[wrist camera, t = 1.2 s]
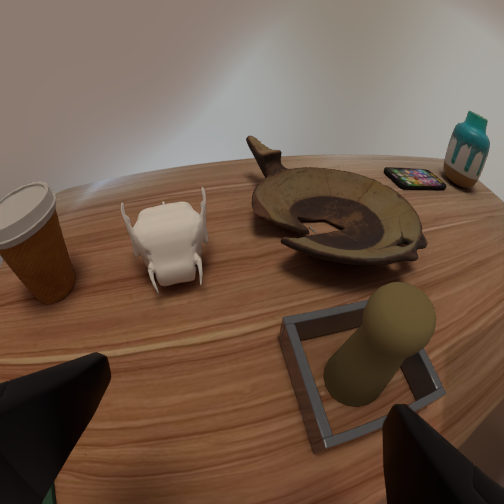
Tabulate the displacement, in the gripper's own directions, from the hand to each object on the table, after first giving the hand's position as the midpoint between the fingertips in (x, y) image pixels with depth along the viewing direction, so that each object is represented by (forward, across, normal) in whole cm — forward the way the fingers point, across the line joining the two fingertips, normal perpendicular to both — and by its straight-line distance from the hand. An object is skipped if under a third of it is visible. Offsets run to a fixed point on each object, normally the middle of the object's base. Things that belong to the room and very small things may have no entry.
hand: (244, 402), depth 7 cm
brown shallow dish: (+35, -6, -1) cm, 36 cm away
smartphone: (+54, -28, -10) cm, 61 cm away
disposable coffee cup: (+17, +26, +8) cm, 32 cm away
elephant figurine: (+23, +11, +5) cm, 27 cm away
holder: (+14, -9, +10) cm, 19 cm away
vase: (+59, -43, -13) cm, 74 cm away
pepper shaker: (+14, -9, +10) cm, 20 cm away
